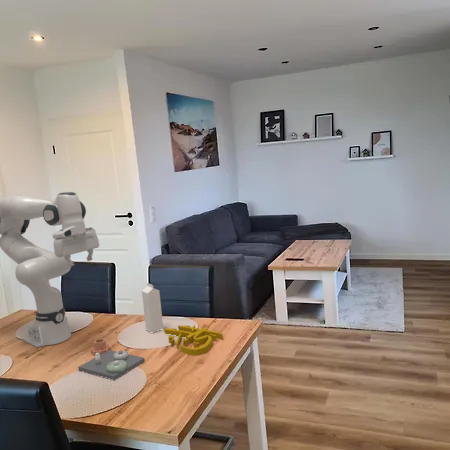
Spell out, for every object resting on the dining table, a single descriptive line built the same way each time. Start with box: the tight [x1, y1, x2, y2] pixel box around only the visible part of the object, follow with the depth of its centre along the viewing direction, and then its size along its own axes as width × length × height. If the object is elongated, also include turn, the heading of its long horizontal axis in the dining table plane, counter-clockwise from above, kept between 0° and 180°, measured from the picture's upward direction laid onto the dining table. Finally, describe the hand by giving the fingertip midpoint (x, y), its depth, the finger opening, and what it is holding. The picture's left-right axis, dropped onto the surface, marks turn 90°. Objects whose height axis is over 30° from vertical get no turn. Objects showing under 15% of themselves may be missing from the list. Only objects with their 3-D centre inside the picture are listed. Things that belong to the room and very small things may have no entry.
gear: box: [90, 338, 112, 356], centre depth 180 cm, size 8×8×5 cm
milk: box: [141, 282, 164, 333], centre depth 198 cm, size 6×6×22 cm
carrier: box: [77, 349, 146, 381], centre depth 165 cm, size 19×16×6 cm
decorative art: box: [163, 324, 224, 356], centre depth 184 cm, size 21×3×30 cm
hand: (81, 263), depth 179 cm, fingers open, 8 cm apart
